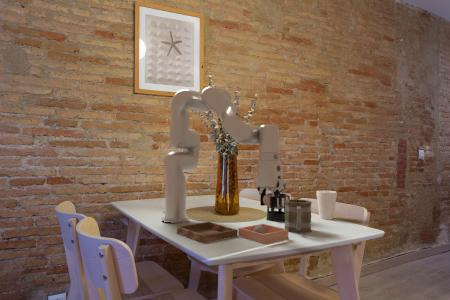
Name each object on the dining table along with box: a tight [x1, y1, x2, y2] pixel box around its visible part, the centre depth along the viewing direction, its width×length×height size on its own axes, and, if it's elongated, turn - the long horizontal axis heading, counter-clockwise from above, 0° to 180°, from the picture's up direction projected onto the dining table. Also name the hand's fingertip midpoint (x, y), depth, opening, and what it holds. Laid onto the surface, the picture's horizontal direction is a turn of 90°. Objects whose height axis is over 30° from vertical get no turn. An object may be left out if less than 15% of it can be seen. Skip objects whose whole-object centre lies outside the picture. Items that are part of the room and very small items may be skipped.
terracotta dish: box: [238, 223, 289, 245], centre depth 127 cm, size 13×13×4 cm
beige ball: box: [263, 193, 272, 207], centre depth 128 cm, size 4×4×4 cm
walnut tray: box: [176, 221, 239, 244], centre depth 129 cm, size 18×16×3 cm
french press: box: [266, 183, 291, 223], centre depth 161 cm, size 12×9×23 cm
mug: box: [284, 198, 312, 234], centre depth 138 cm, size 16×11×12 cm
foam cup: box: [316, 190, 338, 221], centre depth 166 cm, size 10×9×13 cm
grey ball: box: [254, 225, 266, 234], centre depth 125 cm, size 4×4×4 cm
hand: (268, 205), depth 128 cm, fingers closed on beige ball, 4 cm apart
